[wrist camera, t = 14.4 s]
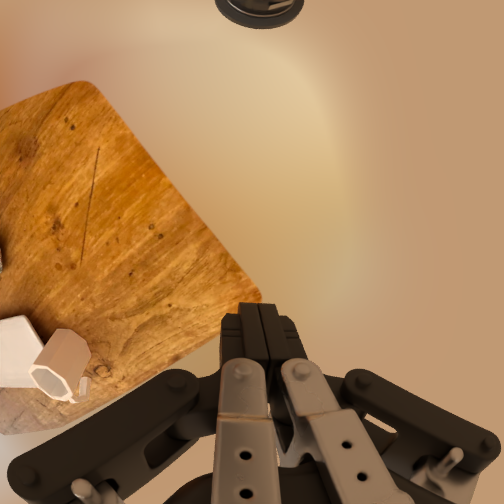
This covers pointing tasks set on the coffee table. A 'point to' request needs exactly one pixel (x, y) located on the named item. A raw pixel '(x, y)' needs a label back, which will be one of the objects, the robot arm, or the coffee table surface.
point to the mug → (63, 367)
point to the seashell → (0, 262)
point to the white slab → (18, 351)
